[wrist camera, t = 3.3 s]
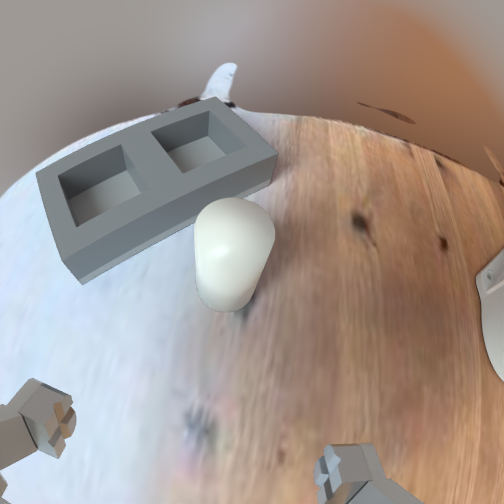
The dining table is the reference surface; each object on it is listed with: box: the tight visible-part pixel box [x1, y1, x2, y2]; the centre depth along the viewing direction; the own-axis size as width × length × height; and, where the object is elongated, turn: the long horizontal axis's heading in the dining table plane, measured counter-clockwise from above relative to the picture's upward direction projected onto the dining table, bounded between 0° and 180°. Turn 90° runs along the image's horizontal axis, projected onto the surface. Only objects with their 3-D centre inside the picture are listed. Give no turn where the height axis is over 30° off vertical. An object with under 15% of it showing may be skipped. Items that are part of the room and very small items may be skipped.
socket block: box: [36, 97, 279, 285], centre depth 26 cm, size 20×10×4 cm, turn 127°
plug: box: [194, 198, 275, 312], centre depth 20 cm, size 4×4×9 cm
